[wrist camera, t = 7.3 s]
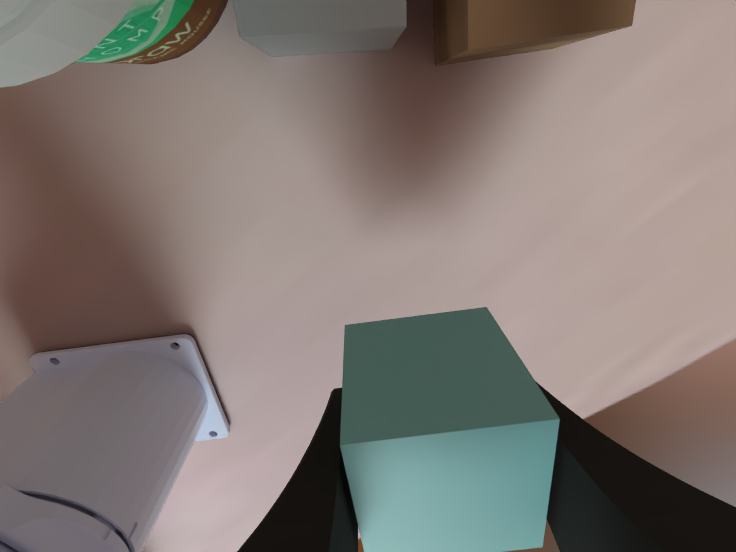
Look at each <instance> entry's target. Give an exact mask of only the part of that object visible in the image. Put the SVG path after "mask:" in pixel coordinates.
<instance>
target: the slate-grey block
mask: <svg viewBox="0 0 736 552" xmlns="http://www.w3.org/2000/svg"><path fill="white" fill-rule="evenodd" d="M233 3H234V8H235V14H236V20H237V25H238V31H239V36H240V38H242V39H243V40H245V41H247V42H248V43H250V44H252V45H253V46H255V47H257V48H259V49H260V50H262V51H264V52H265V53H267V54H269V55H270V56H272V57H282V56H296V55H311V54H326V53H341V52H356V51H370V50H385V49H392V47H393V46H394V44H395V43H396V41H397V40H398V38H399V37H400V35H401V34H402V32H403V31H404V29H405V28H406V26H407V14H406V0H233Z"/></svg>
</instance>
